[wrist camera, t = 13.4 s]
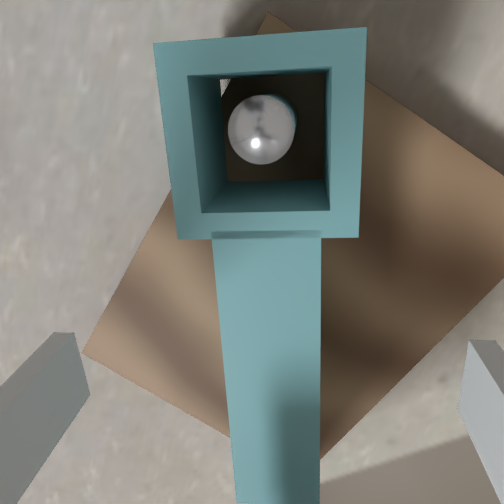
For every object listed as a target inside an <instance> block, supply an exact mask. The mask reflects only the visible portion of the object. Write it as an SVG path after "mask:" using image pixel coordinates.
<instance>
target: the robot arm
mask: <svg viewBox="0 0 504 504" xmlns="http://www.w3.org/2000/svg"><path fill="white" fill-rule="evenodd" d="M89 396H90V391H89V388H88V384H87V380H86V376H85V372H84V369H83V365H82V361H81V357H80V353H79V350H78V346H77V342H76V338H75V334H74V333H59V332H54V333H53V334H52V335H51V336H50V337H49V338H48V339H47V340H46V341H45V342H44V343H43V344H42V345H41V346H40V347H39V348H38V349H37V350H36V351H35V352H34V353H33V354H32V355H31V356H30V357H29V358H28V359H27V360H26V361H25V362H24V363H23V364H22V365H21V366H20V367H19V368H18V369H17V370H16V371H15V372H14V373H13V374H12V375H11V376H10V377H9V378H8V379H7V381H6V382H5V383H4V384H3V385H2V386H1V387H0V504H17V502H18V501H19V499H20V498H21V496H22V495H23V493H24V492H25V490H26V489H27V488H28V486H29V485H30V483H31V482H32V480H33V479H34V477H35V476H36V474H37V473H38V471H39V470H40V468H41V467H42V465H43V464H44V462H45V461H46V459H47V458H48V456H49V455H50V454H51V452H52V451H53V449H54V448H55V446H56V445H57V443H58V442H59V440H60V439H61V437H62V436H63V434H64V433H65V431H66V430H67V428H68V427H69V425H70V424H71V422H72V421H73V420H74V418H75V417H76V415H77V414H78V412H79V411H80V409H81V408H82V406H83V405H84V403H85V402H86V400H87V399H88V397H89ZM457 409H458V412H459V414H460V416H461V418H462V420H463V422H464V425H465V427H466V429H467V431H468V433H469V435H470V438H471V440H472V442H473V444H474V446H475V448H476V451H477V452H478V455H479V457H480V459H481V461H482V464H483V466H484V468H485V470H486V472H487V474H488V476H489V479H490V481H491V483H492V485H493V487H494V489H495V492H496V494H497V496H498V498H499V500H500V503H501V504H504V352H503V350H502V349H501V348H500V346H499V345H498V343H497V342H496V341H495V340H469V343H468V349H467V355H466V361H465V366H464V372H463V378H462V384H461V390H460V396H459V402H458V408H457Z"/></svg>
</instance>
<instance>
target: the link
mask: <svg viewBox="0 0 504 504" xmlns="http://www.w3.org/2000/svg"><path fill="white" fill-rule="evenodd" d="M366 41H367V27H357V28H344V29H331V30H318V31H305V32H292V33H279V34H266V35H253V36H240V37H227V38H214V39H201V40H188V41H175V42H162V43H153V49H154V57H155V64H156V72H157V80H158V88H159V96H160V104H161V112H162V120H163V128H164V136H165V143H166V151H167V159H168V167H169V175H170V183H171V191H172V199H173V207H174V215H175V223H176V230H177V238H178V240H187V239H212V248H213V259H214V269H215V280H216V290H217V301H218V311H219V322H220V332H221V343H222V353H223V364H224V374H225V385H226V396H227V406H228V417H229V427H230V438H231V448H232V459H233V469H234V480H235V490H236V501H237V503H243V504H320V502H319V501H320V500H319V499H320V495H319V494H320V347H321V238H359V213H360V188H361V164H362V139H363V115H364V90H365V66H366ZM313 73H325V89H324V179H309V180H276V181H242V182H228V180H227V167H226V153H225V140H224V127H223V114H222V101H221V88H220V79H234V78H250V77H266V76H282V75H297V74H313Z"/></svg>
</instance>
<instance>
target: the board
mask: <svg viewBox="0 0 504 504" xmlns="http://www.w3.org/2000/svg"><path fill="white" fill-rule="evenodd" d="M292 32H297V31H295V30H294V29H292V28H291V27H290V26H288V25H287V24H285V23H284V22H282V21H281V20H279V19H278V18H277V17H275V16H274V15H272V14H271V13H269V12H268V13H267V15H266V17H265V19H264V20H263V22H262V24H261V26H260V28H259V30H258V31H257V33H256V35H266V34H279V33H292ZM324 89H325V73H313V74H297V75H282V76H266V77H250V78H234V79H231V81H230V83H229V84H228V86H227V88H226V90H225V92H224V94H223V95H222V97H221V101H222V114H223V127H224V140H225V153H226V167H227V180H228V182H242V181H276V180H309V179H324ZM266 94H279V95H282V96H284V97H286V98H287V99H289V100H290V101H291V102H292V104H293V105H294V107H295V109H296V112H297V126H296V129H295V133H294V137H293V141H292V144H291V146H290V148H289V149H288V151H287V152H286V153H285V154H284V155H283V156H282V157H281V158H280V159H278V160H277V161H274V162H272V163H269V164H254V163H250V162H248V161H246V160H244V159H243V158H241V157H240V156H239V155H238V154H237V153H236V152H235V150H234V149H233V147H232V145H231V143H230V140H229V136H228V124H229V120H230V117H231V115H232V112H233V111H234V109H235V108H236V107H237V106H238V105H239V104H240V103H241V102H242V101H244V100H245V99H247V98H250V97H253V96H258V95H266ZM503 278H504V176H503V175H502V174H500V173H499V172H498V171H496V170H495V169H493V168H492V167H490V166H489V165H487V164H486V163H485V162H483V161H482V160H480V159H479V158H477V157H476V156H475V155H473V154H472V153H470V152H469V151H467V150H466V149H465V148H463V147H462V146H460V145H459V144H457V143H456V142H454V141H453V140H452V139H450V138H449V137H447V136H446V135H444V134H443V133H442V132H440V131H439V130H437V129H436V128H434V127H433V126H432V125H430V124H429V123H427V122H426V121H424V120H423V119H421V118H420V117H419V116H417V115H416V114H414V113H413V112H411V111H410V110H409V109H407V108H406V107H404V106H403V105H401V104H400V103H399V102H397V101H396V100H394V99H393V98H391V97H390V96H388V95H387V94H386V93H384V92H383V91H381V90H380V89H378V88H377V87H376V86H374V85H373V84H371V83H370V82H368V81H367V80H366V79H365V90H364V115H363V139H362V164H361V188H360V213H359V238H321V347H320V459H321V458H322V457H323V456H324V455H325V454H326V453H327V452H328V451H329V450H330V449H331V448H332V447H333V446H334V445H335V444H337V443H338V442H339V441H340V440H341V439H342V438H343V437H344V436H345V435H346V434H347V433H348V432H349V431H350V430H351V429H352V428H353V427H354V426H355V425H356V424H357V423H358V422H359V421H360V420H361V419H362V418H363V417H364V416H365V415H366V414H367V413H368V412H369V411H370V410H371V409H372V408H373V407H374V406H375V405H376V404H377V403H378V402H379V401H380V400H381V399H382V398H383V397H384V396H385V395H386V394H387V393H388V392H389V391H390V390H391V389H392V388H393V387H394V386H395V385H396V384H397V383H398V382H399V381H400V380H401V379H402V378H403V377H404V376H405V375H406V374H407V373H408V372H409V371H410V370H411V369H412V368H413V367H414V366H415V365H416V364H417V363H418V362H419V361H420V360H421V359H422V358H423V357H424V356H425V355H426V354H427V353H428V352H429V351H430V350H431V349H432V348H433V347H434V346H435V345H436V344H437V343H438V342H439V341H440V340H441V339H442V338H443V337H444V336H445V335H446V334H447V333H448V332H449V331H450V330H451V329H452V328H453V327H454V326H455V325H456V324H457V323H458V322H459V321H460V320H461V319H462V318H463V317H464V316H465V315H466V314H467V313H468V312H469V311H470V310H471V309H472V308H473V307H474V306H475V305H476V304H477V303H478V302H480V301H481V300H482V299H483V298H484V297H485V296H486V295H487V294H488V293H489V292H490V291H491V290H492V289H493V288H494V287H495V286H496V285H497V284H498V283H499V282H500V281H501V280H502V279H503ZM82 353H83V354H84V355H86V356H88V357H90V358H91V359H93V360H95V361H97V362H98V363H100V364H102V365H104V366H105V367H107V368H109V369H111V370H112V371H114V372H116V373H118V374H119V375H121V376H123V377H125V378H127V379H128V380H130V381H132V382H134V383H135V384H137V385H139V386H141V387H142V388H144V389H146V390H148V391H149V392H151V393H153V394H155V395H156V396H158V397H160V398H162V399H163V400H165V401H167V402H169V403H170V404H172V405H174V406H176V407H177V408H179V409H181V410H183V411H184V412H186V413H188V414H190V415H191V416H193V417H195V418H197V419H198V420H200V421H202V422H204V423H205V424H207V425H209V426H211V427H212V428H214V429H216V430H218V431H219V432H221V433H223V434H225V435H226V436H228V437H230V427H229V417H228V406H227V396H226V385H225V374H224V364H223V353H222V343H221V332H220V322H219V311H218V301H217V290H216V280H215V269H214V259H213V248H212V239H187V240H178V238H177V230H176V223H175V215H174V207H173V199H172V191H171V190H170V192H169V194H168V196H167V198H166V199H165V201H164V203H163V205H162V207H161V209H160V210H159V212H158V214H157V216H156V218H155V220H154V221H153V223H152V225H151V227H150V229H149V231H148V232H147V234H146V236H145V238H144V240H143V242H142V243H141V245H140V247H139V249H138V251H137V252H136V254H135V256H134V258H133V260H132V262H131V263H130V265H129V267H128V269H127V271H126V273H125V274H124V276H123V278H122V280H121V282H120V284H119V285H118V287H117V289H116V291H115V293H114V294H113V296H112V298H111V300H110V302H109V304H108V305H107V307H106V309H105V311H104V313H103V315H102V316H101V318H100V320H99V322H98V324H97V326H96V327H95V329H94V331H93V333H92V335H91V337H90V338H89V340H88V342H87V344H86V346H85V347H84V349H83V351H82Z"/></svg>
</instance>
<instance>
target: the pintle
mask: <svg viewBox="0 0 504 504" xmlns="http://www.w3.org/2000/svg"><path fill="white" fill-rule="evenodd" d="M296 126H297V112H296V109H295V107H294V105H293V104H292V102H291V101H290V100H289V99H287V98H286V97H284V96H282V95H279V94H266V95H258V96H253V97H250V98H247V99H245V100H244V101H242V102H241V103H240V104H239V105H238V106H237V107H236V108H235V109H234V111H233V112H232V115H231V117H230V120H229V124H228V136H229V140H230V143H231V145H232V147H233V149H234V150H235V152H236V153H237V154H238V155H239V156H240V157H241V158H243V159H244V160H246V161H248V162H250V163H254V164H269V163H272V162H274V161H277V160H278V159H280V158H281V157H282V156H283V155H284V154H285V153H286V152H287V151H288V149H289V148H290V146H291V144H292V141H293V137H294V133H295V129H296Z"/></svg>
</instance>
